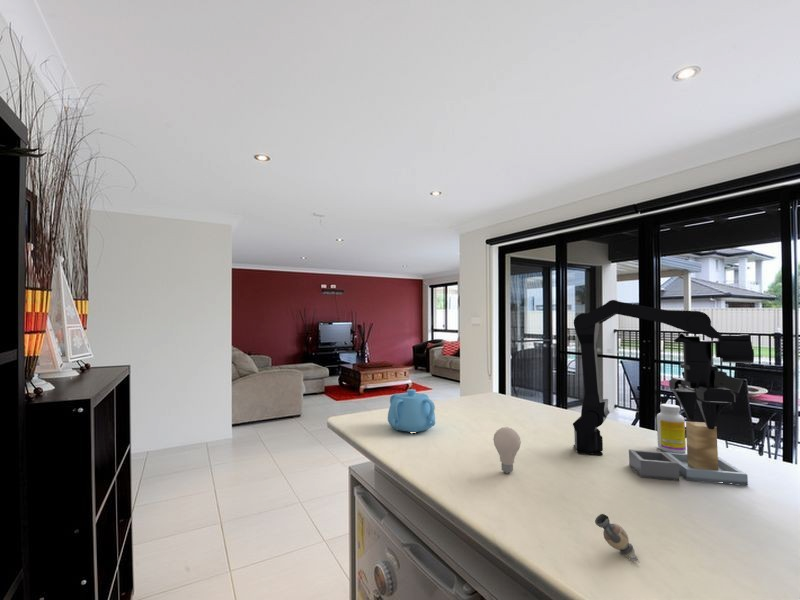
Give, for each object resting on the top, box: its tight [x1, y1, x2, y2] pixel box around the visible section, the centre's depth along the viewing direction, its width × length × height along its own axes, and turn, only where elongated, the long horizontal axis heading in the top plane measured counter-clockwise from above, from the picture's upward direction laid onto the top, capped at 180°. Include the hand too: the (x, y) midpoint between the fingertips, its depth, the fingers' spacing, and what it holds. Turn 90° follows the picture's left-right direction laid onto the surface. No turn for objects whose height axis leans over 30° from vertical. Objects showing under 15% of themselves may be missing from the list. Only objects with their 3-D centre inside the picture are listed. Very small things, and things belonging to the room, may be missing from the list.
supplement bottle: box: [656, 403, 687, 454], centre depth 110 cm, size 7×7×13 cm
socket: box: [628, 449, 680, 482], centre depth 93 cm, size 8×8×4 cm
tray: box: [663, 451, 749, 486], centre depth 93 cm, size 12×12×2 cm
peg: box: [685, 420, 719, 471], centre depth 93 cm, size 4×4×11 cm
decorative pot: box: [387, 388, 436, 433], centre depth 131 cm, size 16×16×14 cm
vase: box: [594, 513, 640, 565], centre depth 61 cm, size 5×5×6 cm
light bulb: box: [492, 426, 522, 474], centre depth 93 cm, size 7×7×11 cm
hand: (700, 424), depth 94 cm, fingers open, 9 cm apart
